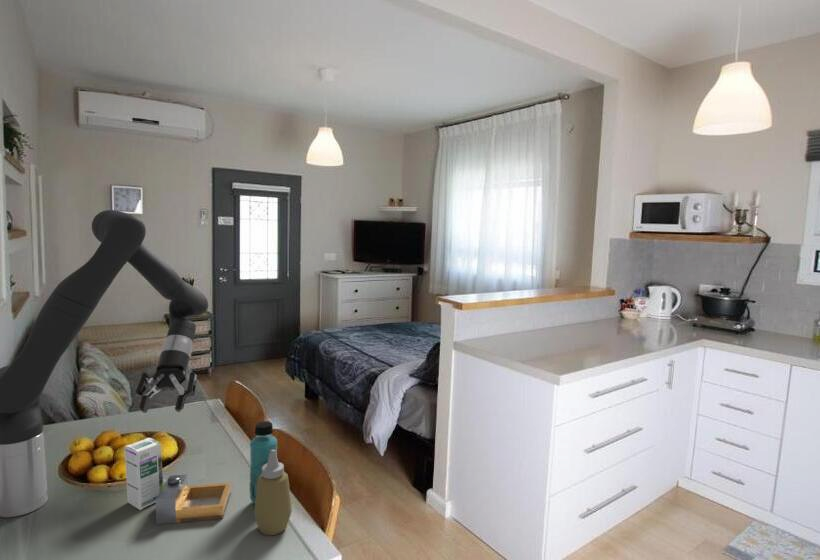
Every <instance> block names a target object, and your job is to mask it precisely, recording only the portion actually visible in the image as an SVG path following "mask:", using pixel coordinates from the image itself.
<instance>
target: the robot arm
mask: <svg viewBox="0 0 820 560" xmlns="http://www.w3.org/2000/svg"><path fill="white" fill-rule="evenodd" d="M91 231H92V234H93V236H94V238H95V239H96V240H97V241H99V242H100V244H99V246H98V247H97V249H96V250H95V252H94V253H93V255H92V256H91V257H90V258H89V259H88V261H86V262H85V263H84V264H83V265H82V266H80V267H79V268H78V269H76V270H74V272H72V273H71V274H69V275H68V276H66V277H65V278H63V280H61V282H59V283H58V285H57V286H56V287H55V288H54V290H53V291H52V292H51V294H50V295H49V296H48V297H47V300H46V301H45V302H44V304H43V305H42V307H41V309H40V310H39V312H38V314H37V317H36V319H35V321H34V323H33V325H32V327H31V330H30V333H29V336H28V338H27V340H26V342H25V344H24V346H23V348H22V349H21V351H20V352H19V353H18V355H17V356H16V358H15V359H14V360H13V361H12V363H11V364H10V365H9V364H8V365H6V366H3V367H0V517H1V518H15V517H20V516H23V515H27V514H29V513H33V512H34V511H36V510H38V509H40V508H41V507H43V506H44V505H45V504H46V503H47V501H48V488H47V483H48V482H47V470H46V454H45V438H44V423H43V417H42V411H41V401H40V396H41V395H42V393H43V391H44V390H45V387H46V384H47V382H48V381H49V379H50V377H51V375H52V374H53V372H54V370H55V368H56V366H57V364H58V362H59V361H60V359H61V358H62V356H63V354H65V352H66V351H67V350H68V348H69V347H70V345H71V344H72V343H73V342H74V340H75V339H76V337H77V336H78V334H79V333H80V331H81V330H82V328H83V327H84V325H85V324H86V323H87V321H88V320H89V318H90V317H91V315H92V313H94V311H95V309H96V308H97V305H98V304H99V302H101V299H102V298H103V297H104V295H105V293H107V290H108V289H109V288H110V286H111V285H112V283H113V282H114V280H115V278H116V277H117V276H118V274H119V272H120V271H121V270H122V269H123V267H124V266H125V265H126V264H127V263H128V264H129V265H131V266H132V267H133V269H135V270H136V271H137V272H138V273H139V274H140V275H141V276H142V278H144V279H145V280H146V281H147V282H148V283H149V285H151V286H152V287H153V288H154V290H156V291H157V292H158V293H159V294H160V296H162V298H164V299H166V300H169V301H170V302H169V304H168V314H169V319H168V321H169V327H168V331H167V335H166V338H165V341H164V342H163V345H162V347H161V352H160V355H159V357H158V362H157V366H156V371H155V372H154V373H153V374H148V373H147V372H143V373H142V374H141V377H140V379H139V382H138V385H137V388H136V390H135V393H136V394H137V396H138V397H139V398H141V400H140V404H139V409H140V412H142V413H145V414H146V413H147V412H148V411H149V410H148V409H149V407H150V403H151V398H152V397H153V396H154V395H156V394H158V393H159V392H160V391H162V392H163V391H175V390H177V392H178V394H179V395H177V399H176V403H175V406H174V411H176V412H177V413H181V412H182V410H184V407H185V403H186V399H187V398H189V397H194V396H195V394H196V388H197V387H196V386H197V382H198V376H197V374H196V373H195V372H194V371H191V372H190V373H187V372H188V367H189V364H190V359H191V356H192V352H193V344H194V338H195V334H196V331H197V328H196V327H197V326H196V324H195V322H194V321H192V320H190V319H187V318H191V317H197V316H201V315H205V313H206V312H207V311H208V308H209V302H208V298H207V297H206V295H205V294H204V293H203V292H202V291H200V289H198V288H196V287H195V286H193V285H191V284H190V283H188V282H186V281H184V279H183V278H182V277H181V276H180V275H179V274H178V272H176V270H175V269H173V268H172V266H171V265H170V264H168V263H167V262H166V261H165V260H163V259H162V258H161V257H160V256H158V255H157V254H156V253H155V252H153V251H152V250H151V249H149V247H148V246H146V245H145V243H143V242H144V240H145V237H146V233H147V232H146V225H145V223H144V222H143V220H142V219H141V218H139V217H138V216H135V215H133V214H130V213H126V212H123V211H121V210H115V209H105V210H103V211H100V212H99V213H97V214H96V215H95V216H94V218H93V219H92V222H91ZM186 380H187V381H188V383H187V389H186V390H185V389H184V387H183V385H182V384H183V383H184V382H185V381H186ZM152 381H153V382H152ZM150 383H151V384H150Z"/></svg>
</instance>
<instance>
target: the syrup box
mask: <svg viewBox="0 0 820 560" xmlns="http://www.w3.org/2000/svg"><path fill="white" fill-rule="evenodd" d="M162 454H163V453H162V443H161V442H160V441H158V440H156V439H154V438H152V437H147V438H144V439H142V440H139V441H136V442H133V443H131V444H126V445H125V446H124V459H125V475H126V477H125V478H126V492H127V494H126V495H127V496H126V497H127V503H128V504H130V505H131V506H133V507H134V508H136V509H137V510H139V511H142V510H144V509H145V508H147V507H149V506H151V505H153V504H156V498H157V496H158V494H159V493H160V491H161V489H162V488H163V486H164V483H163V482H164V481H163V480H164V479H163V461H162V460H163V459H162V458H163V457H162V456H163V455H162Z"/></svg>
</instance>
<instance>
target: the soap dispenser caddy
mask: <svg viewBox="0 0 820 560" xmlns="http://www.w3.org/2000/svg"><path fill="white" fill-rule="evenodd" d="M231 486H232V484H231V482H223V483H209V484H196V485H188V473H187V474H172V475H168V477H167V479H166V481H165V482H164V483H163V488H162V489H161V491H160V493H159V494H158V496H157V498H156V503H155V519H156V523H155V524H156V525H167V524H168V525H169V524H177V523H190V522H200V521H202V522H203V521H212V520H214V521H215V520H222V519H224V517H225V514H226V511H227V507H228V504H229V501H230V498H231V495H232V492H231V491H232V487H231Z"/></svg>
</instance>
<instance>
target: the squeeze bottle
mask: <svg viewBox="0 0 820 560" xmlns="http://www.w3.org/2000/svg"><path fill="white" fill-rule="evenodd" d="M277 457H278V453H277V454H276V450H270V454H269V458H268V463H266V464H265V465H263V467H262V475H260V476H259V478H258V481H257V491H256V501H255V503H254V504H255V505H254V512H253V513H254V514H253V515H254V520H255V522H256V524H257V527H258V530H259V532H260V533H262V534H263V535H265V536H274V535H279V534H281V533H283V531H285V530H286V529H287V526H288V523H289V520H290V518H291V515H292V511H293V510H292V509H293V507H292V500H291V499H292V498H291V489H290V482H289V475H288V473H287V472H285V465H284V463H282V462H279V460H278V458H277Z"/></svg>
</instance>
